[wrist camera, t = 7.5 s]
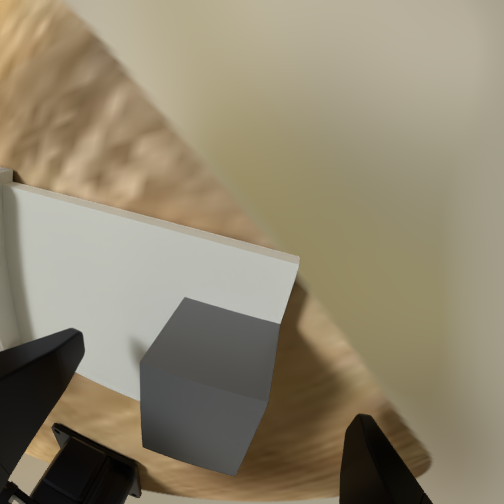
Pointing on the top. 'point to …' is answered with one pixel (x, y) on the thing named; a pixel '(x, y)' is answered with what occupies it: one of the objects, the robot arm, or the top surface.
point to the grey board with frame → (149, 314)
